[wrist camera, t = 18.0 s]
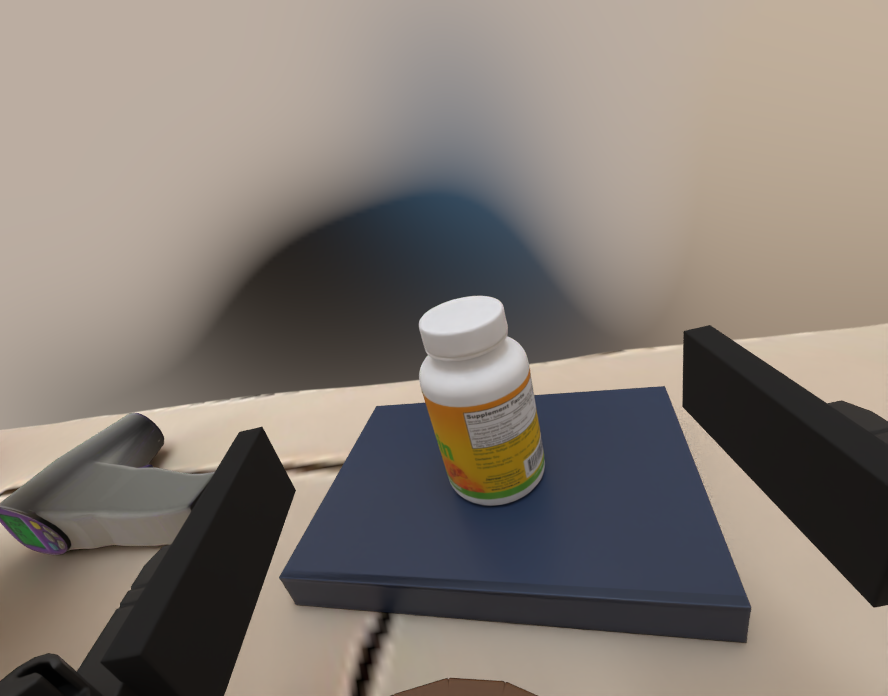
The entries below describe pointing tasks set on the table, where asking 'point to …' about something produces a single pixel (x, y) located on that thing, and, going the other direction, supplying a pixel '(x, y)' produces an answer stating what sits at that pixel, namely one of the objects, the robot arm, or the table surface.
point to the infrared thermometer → (104, 494)
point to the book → (530, 528)
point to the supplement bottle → (481, 401)
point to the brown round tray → (466, 688)
